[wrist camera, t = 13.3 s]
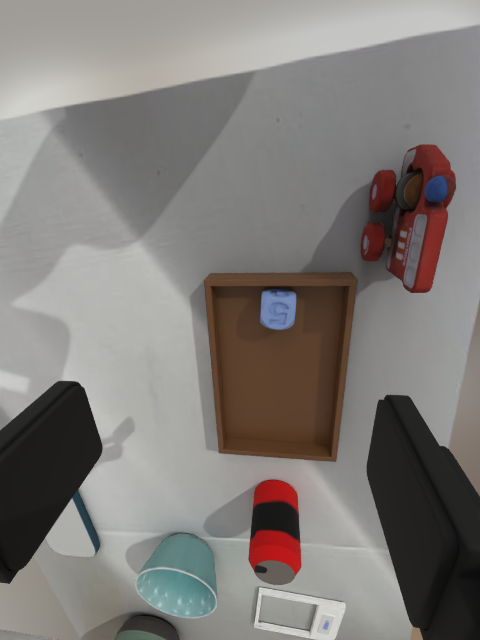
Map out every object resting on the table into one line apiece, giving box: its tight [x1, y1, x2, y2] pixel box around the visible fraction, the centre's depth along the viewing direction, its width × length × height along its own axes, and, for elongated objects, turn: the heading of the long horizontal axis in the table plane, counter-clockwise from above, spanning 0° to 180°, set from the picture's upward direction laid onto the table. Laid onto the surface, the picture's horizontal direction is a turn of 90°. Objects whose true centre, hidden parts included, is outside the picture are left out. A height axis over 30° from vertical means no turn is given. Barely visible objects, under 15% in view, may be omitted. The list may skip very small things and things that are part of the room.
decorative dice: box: [260, 288, 296, 330], centre depth 36 cm, size 4×4×4 cm
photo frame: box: [254, 587, 346, 640], centre depth 65 cm, size 15×1×18 cm
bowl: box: [135, 533, 218, 618], centre depth 58 cm, size 16×16×8 cm
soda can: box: [249, 480, 301, 585], centre depth 47 cm, size 8×8×12 cm
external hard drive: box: [45, 490, 100, 558], centre depth 61 cm, size 24×12×2 cm, turn 6°
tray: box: [204, 272, 357, 462], centre depth 41 cm, size 28×18×3 cm, turn 2°
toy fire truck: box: [361, 145, 456, 293], centre depth 28 cm, size 7×12×10 cm, turn 179°
